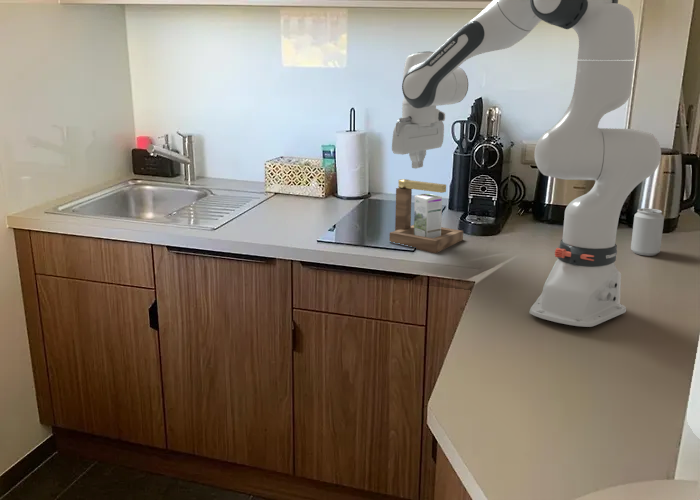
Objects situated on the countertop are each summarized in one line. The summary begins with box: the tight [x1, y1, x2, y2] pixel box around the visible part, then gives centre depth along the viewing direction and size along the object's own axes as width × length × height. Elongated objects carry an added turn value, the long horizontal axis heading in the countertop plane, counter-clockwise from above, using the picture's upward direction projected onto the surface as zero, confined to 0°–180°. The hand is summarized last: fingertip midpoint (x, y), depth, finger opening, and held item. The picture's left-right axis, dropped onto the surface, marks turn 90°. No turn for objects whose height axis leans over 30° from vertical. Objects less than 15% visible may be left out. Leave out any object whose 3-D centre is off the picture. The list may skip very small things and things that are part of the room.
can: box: [630, 207, 665, 257], centre depth 194 cm, size 8×8×12 cm
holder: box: [388, 187, 464, 254], centre depth 201 cm, size 15×17×16 cm
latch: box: [397, 178, 447, 194], centre depth 199 cm, size 15×3×2 cm, turn 53°
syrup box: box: [413, 193, 443, 238], centre depth 199 cm, size 6×6×14 cm
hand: (417, 167), depth 192 cm, fingers closed
